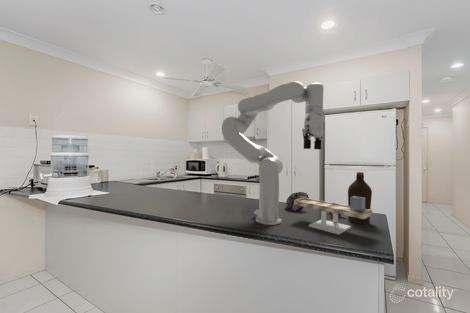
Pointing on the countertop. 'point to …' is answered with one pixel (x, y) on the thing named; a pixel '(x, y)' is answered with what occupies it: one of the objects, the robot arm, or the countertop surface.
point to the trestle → (329, 224)
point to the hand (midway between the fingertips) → (312, 149)
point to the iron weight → (357, 204)
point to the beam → (331, 207)
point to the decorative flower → (291, 199)
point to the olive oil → (360, 190)
